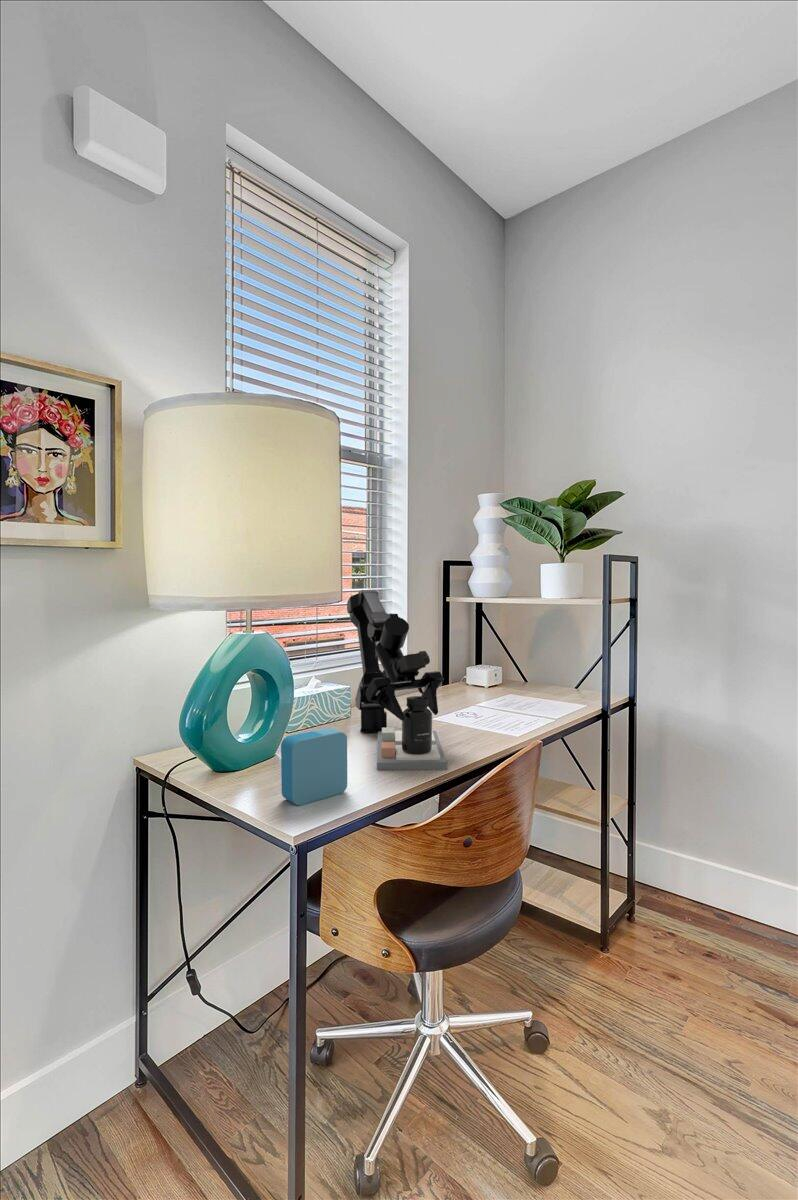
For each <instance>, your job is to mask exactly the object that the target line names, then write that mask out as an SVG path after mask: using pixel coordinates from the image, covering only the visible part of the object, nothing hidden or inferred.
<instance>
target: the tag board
mask: <svg viewBox="0 0 798 1200" xmlns="http://www.w3.org/2000/svg"><path fill="white" fill-rule="evenodd" d="M376 748H377V749H376V751H377V755H376V771H384V770H385V771H388V770H391V771H393V770H395V771H397V770H398V771H399V770H400V771H401V769H406V770H447V769H448V768H447V767H448V766H447V760H446V755H445V753H444V750H443V746H442V745H441V740H440V738H439V735H438V732H437V730H432V749H431V751H430V752H429V753H426V754H409V753H406V752H404V751H403V750H402V730H395V727H387V728H382V731H378V733H377V747H376Z"/></svg>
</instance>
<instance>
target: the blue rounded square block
mask: <svg viewBox="0 0 798 1200" xmlns="http://www.w3.org/2000/svg"><path fill="white" fill-rule="evenodd" d="M280 758H281V759H280V761H281V764H280V770H281V783H280V784H281V796H282V797H283V798H284V799H285V800H287V801H289V802H291V803H292V804H293V805H296V806H302V805H303V806H304V805H307V804H311V803H313V802H317V801H320V800H324V799H327V798H330V797H335V796H337V795H342V794H344V792H345V791H346V790H347V788H348V737H347V734H346V733H345V732H343V731H341V730H338V729H335V728H331V727H325V728H320V729H316V730H311V731H306V732H305V731H304V732H301V733H297V734H290V735H287V736H285V737H284V738H283V739H282V741H281V744H280Z"/></svg>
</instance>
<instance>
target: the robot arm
mask: <svg viewBox="0 0 798 1200" xmlns="http://www.w3.org/2000/svg"><path fill="white" fill-rule="evenodd" d="M346 611H347V614H349V618H350V619H349V620H350V622H351V624H352V625H354V626H355V628H356V630H357V636H358V643H359V644H358V645H359V651H360V660H361V668H362V673H363V675H362V677H361V679H360V682H359V683H358V687H357V692H356V695H355V698H354V699H355V707H356V708H357V709H358V710H359V711H360V730H359V731H360V733H362V734H366V733H367V734H369V733H371V734H372V733H374V734H378V731H382V728H388V727H387V726H388V725H387V721H388V717H387V716H388V713H387V711H388V712H390V713H391V714H392V715H393V716H395V717H396V718H397V719H398V720H400V721H402V720H404V718H405V717H404V714H403V711H404V710H402V707H401V705H400V703H399V700H398V699H397V697H396V692H397V691H399V692H400V691H406V690H415V689H417V690H418V692H419V693H420V694H421V696H422V697H426V698H428V707H427V708H428V709H429V710H430V711H431V713H432V714H433V715H435V716H437V715H438V713H439V706H438V698H437V690H438V689H439V687H440V685H441V684H442V683H443V682H444V680H445V678H444V677H443V675H442V673H441V671H436V670H435V671H434V670H433V671H427V672H424V673H423V675H422V677H421V678H419V679H416V677H418V675H419V674H420V672H419V671H420V670H421V669H425V668H426V666H427V665H429V664H430V662H431V659H430V655H429V654H428V652H427V651H426V650H421V651H420V650H419V651H418V652H416V653H410V654H406V655H404V654H403V651H402V648H404V646H405V645H404V644H405V641H406V639H407V636H408V632H409V630H410V624H409V623H408V622H407V620H405V619H404V618H402V617H401V616H399V614H398V613H388V612H387V611H386V610H385V608H384V606H383V604H382V602H381V599H380V598H379V592H378V590H375V589H361V590H359V591H358V593H356V594H354V595H351V596H350V597H349V598H348V600H347V602H346ZM379 662H380V663H379ZM380 665H381V666H382V669H383V671H382V670H381V669H380ZM385 709H386V710H387V711H385Z"/></svg>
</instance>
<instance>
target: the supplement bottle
mask: <svg viewBox="0 0 798 1200" xmlns="http://www.w3.org/2000/svg"><path fill="white" fill-rule="evenodd" d="M405 704H406V708H405V709H404V710H402V711H403V714H404V717H405V718H404V720H401V731H402V750H403V751H404V752H406V753H409V754H426V753H429V752H430V751H431V749H432V731H433V712H432V711H431V710H430V709H429V707H428V698H426V697H422V696H420V695H419V696H418V695H413V696H408V697H407V698H406V703H405Z"/></svg>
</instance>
